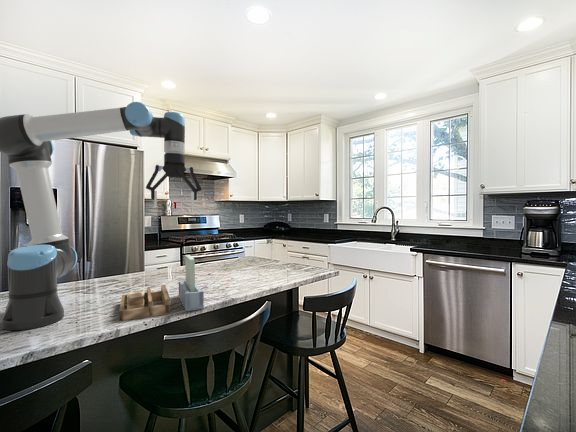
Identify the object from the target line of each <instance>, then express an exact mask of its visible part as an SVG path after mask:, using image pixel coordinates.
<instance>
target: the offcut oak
mask: <svg viewBox="0 0 576 432" xmlns="http://www.w3.org/2000/svg"><path fill="white" fill-rule="evenodd" d="M143 300H144V299H143ZM141 307H145V304H139V305H133V306H130V305H129V303H126V309H134V308H141Z"/></svg>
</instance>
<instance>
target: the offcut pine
mask: <svg viewBox="0 0 576 432" xmlns="http://www.w3.org/2000/svg"><path fill="white" fill-rule="evenodd" d="M145 292H146V290H139V291H130V292H129V293H128V294H136V293H142V295H143V299H144V305H145V304H146V301H145ZM127 303H128V296H127ZM127 303H126V304H127Z"/></svg>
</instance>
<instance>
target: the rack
mask: <svg viewBox="0 0 576 432" xmlns="http://www.w3.org/2000/svg"><path fill="white" fill-rule="evenodd" d="M128 294H129V293H128ZM128 294H122V295H121V299H120V303H119V305H120V306H119V311H118V314H119V317H118V318H119V319H118V320H119V321H120V322H121V321H127V320H135V319H141V318H149V317H155V316H163V315H168V314H169V315H170V314H171V297H170V295H169V292H168V288H167V287H166V285H161V286H160V290H156V291H151V286H147V287H146V291H145V302H147V306H144V307H141V308H134V309H127V308H125V307H126V304H127V296H128ZM156 300H161V302H162V304H157V305H153V301H156Z"/></svg>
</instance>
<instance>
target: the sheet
mask: <svg viewBox="0 0 576 432" xmlns="http://www.w3.org/2000/svg"><path fill="white" fill-rule="evenodd" d="M184 257H185V258H184V259H185V260H184V261H185V263H184V264H185V265H184V266H185V281H186V287H187V289H188V291H189V292H190V293H191V292H195V283H196V273H195V272H196V266H195V265H196V264H195V263H196V262H195V261H196V260H195V258H194V257H193V256H192V255H191V254H185V256H184Z"/></svg>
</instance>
